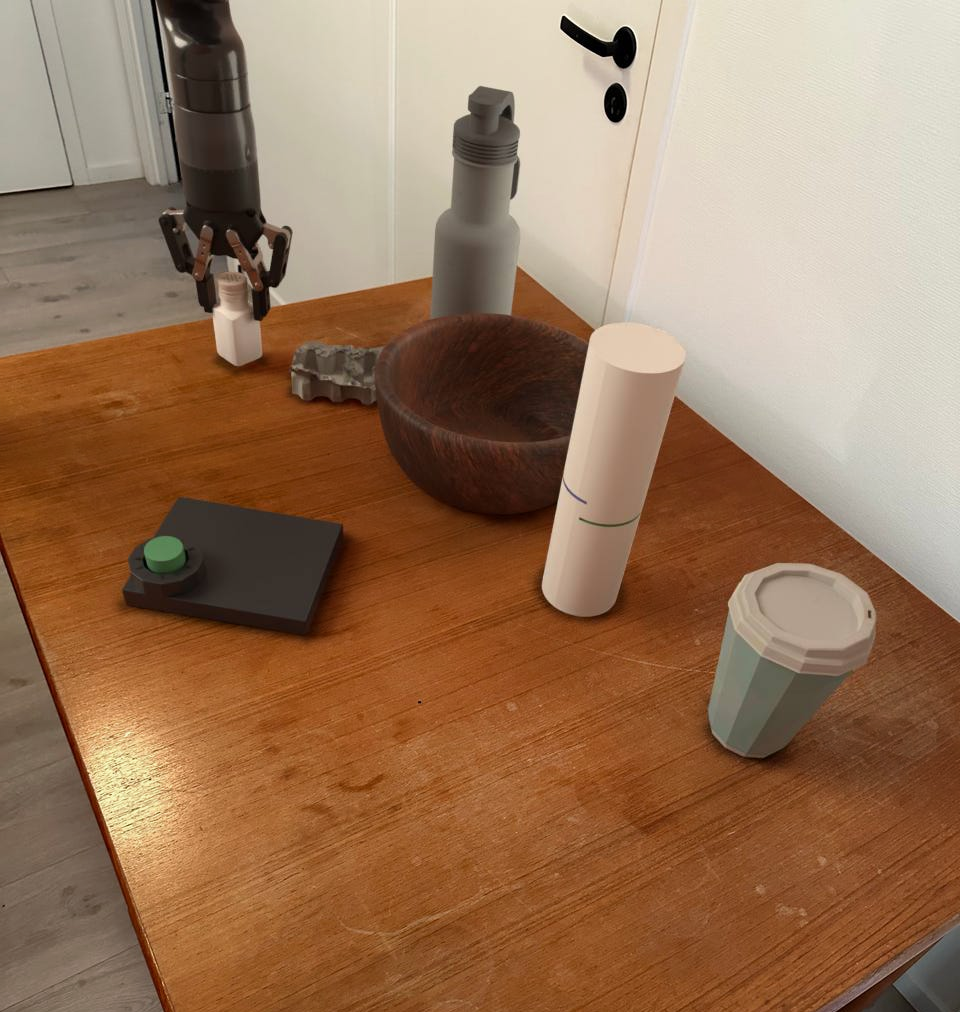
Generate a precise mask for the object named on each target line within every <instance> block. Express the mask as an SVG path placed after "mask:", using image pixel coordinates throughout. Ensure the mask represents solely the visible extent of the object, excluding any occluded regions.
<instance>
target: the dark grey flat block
mask: <svg viewBox="0 0 960 1012" xmlns="http://www.w3.org/2000/svg"><path fill="white" fill-rule="evenodd" d="M161 536H171V537H175V538H177V539H179V540H180V541H181V542H182V544H183V548H184V553H185V557H186V562H185V564H184V566H183V567H182V568H181V569H180V570H178V571H176V572H174V573H168V574H158V573H155V572H153V571H151V570H150V569H149V568H148V566H147V562H146V558H145V554H144V548H145V545H146V544H147V543H148V542H149V541H151V540H152V539H154V538H157V537H161ZM343 541H344V524H343V523H339V522H335V521H334V522H332V521H327V520H321V519H314V518H311V517H310V518H309V517H304V516H297V515H290V514H286V513H279V512H273V511H268V510H261V509H255V508H249V507H244V506H237V505H231V504H226V503H221V502H214V501H207V500H201V499H195V498H189V497H185V496H184V497H183V496H177V498H176V499H175V501H174V503H173V505H172V506H171V508H170V510H168V513H167V515H166V516H165V518H164V520H163V521H162V523H161V524H160V526H159V528H158V529H157V531H156V532H155V534H154V536H153V537H149V538H148V539H146V540H144V541H142V542H141V543H139V544H138V545H136V546H135V547H134V548H133V550H132V552H131V553H130V555H129V557H128V558H127V564H128V568H129V572H130V573H129V574H130V576H129V577H128V579H127V581H126V582H125V584H124V586H123V587H122V589H121V592H122V596H123V599H124V602H125V603H124V604H125V605H126V606H129V607H136V608H142V609H147V610H153V611H159V612H165V613H171V614H177V615H183V616H187V617H193V618H194V617H195V618H200V619H205V620H211V621H217V622H223V623H229V624H235V625H239V626H246V627H250V628H256V629H257V628H258V629H262V630H263V629H264V630H269V631H275V632H281V633H287V634H291V635H292V634H293V635H299V636H305V637H306V636H307V635H308V632H309V630H310V627H311V625H312V622H313V619H314V616H315V614H316V611H317V608H318V607H319V604H320V601H321V598H322V596H323V593H324V591H325V588H326V586H327V582H328V580H329V577H330V574H331V572H332V570H333V568H334V565H335V561H336V559H337V557H338V554H339V551H340V549H341V547H342V544H343Z"/></svg>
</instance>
